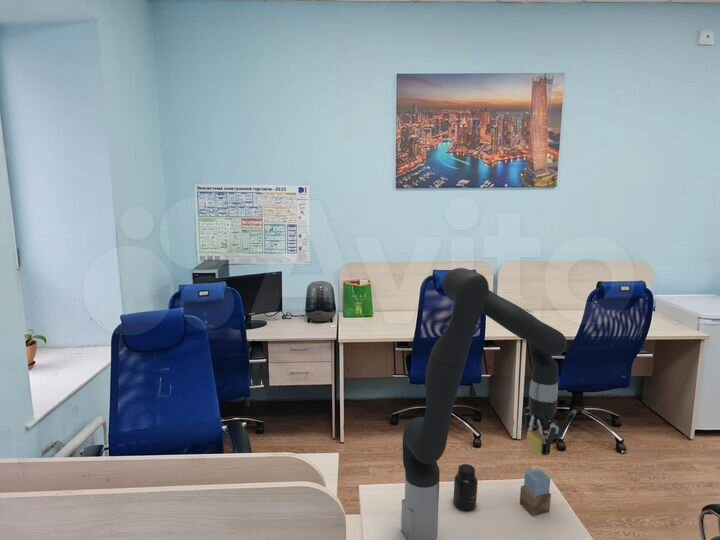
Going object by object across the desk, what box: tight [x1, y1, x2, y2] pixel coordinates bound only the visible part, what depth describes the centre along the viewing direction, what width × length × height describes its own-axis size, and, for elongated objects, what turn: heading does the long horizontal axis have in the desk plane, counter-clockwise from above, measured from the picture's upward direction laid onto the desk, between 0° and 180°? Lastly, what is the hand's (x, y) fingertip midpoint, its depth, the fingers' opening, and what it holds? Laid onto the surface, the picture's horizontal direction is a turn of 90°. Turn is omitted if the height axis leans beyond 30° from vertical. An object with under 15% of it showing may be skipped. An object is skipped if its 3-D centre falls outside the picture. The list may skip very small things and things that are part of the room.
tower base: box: [519, 485, 552, 517], centre depth 149 cm, size 6×6×6 cm
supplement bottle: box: [452, 463, 478, 512], centre depth 150 cm, size 7×7×12 cm
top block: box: [526, 429, 554, 457], centre depth 145 cm, size 5×5×5 cm
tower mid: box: [523, 468, 551, 497], centre depth 148 cm, size 5×5×5 cm
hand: (539, 449), depth 146 cm, fingers closed on top block, 5 cm apart
